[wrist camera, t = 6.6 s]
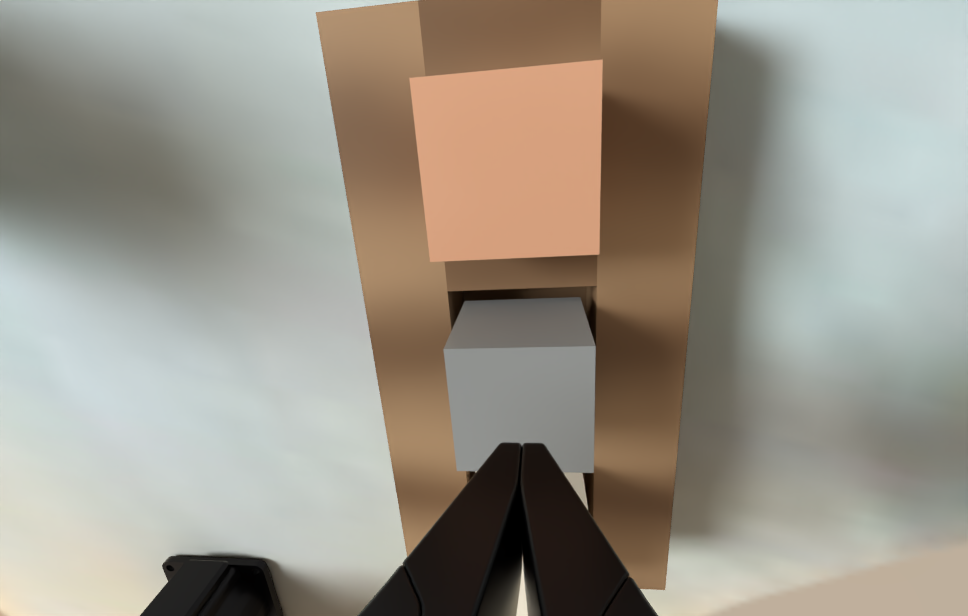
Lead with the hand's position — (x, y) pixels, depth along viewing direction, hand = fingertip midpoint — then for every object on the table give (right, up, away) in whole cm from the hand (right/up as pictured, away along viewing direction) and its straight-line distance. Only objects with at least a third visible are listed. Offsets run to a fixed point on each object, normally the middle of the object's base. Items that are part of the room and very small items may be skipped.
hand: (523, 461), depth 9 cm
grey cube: (+1, +1, +8) cm, 8 cm away
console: (+1, +3, +11) cm, 11 cm away
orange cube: (0, +7, +5) cm, 9 cm away
